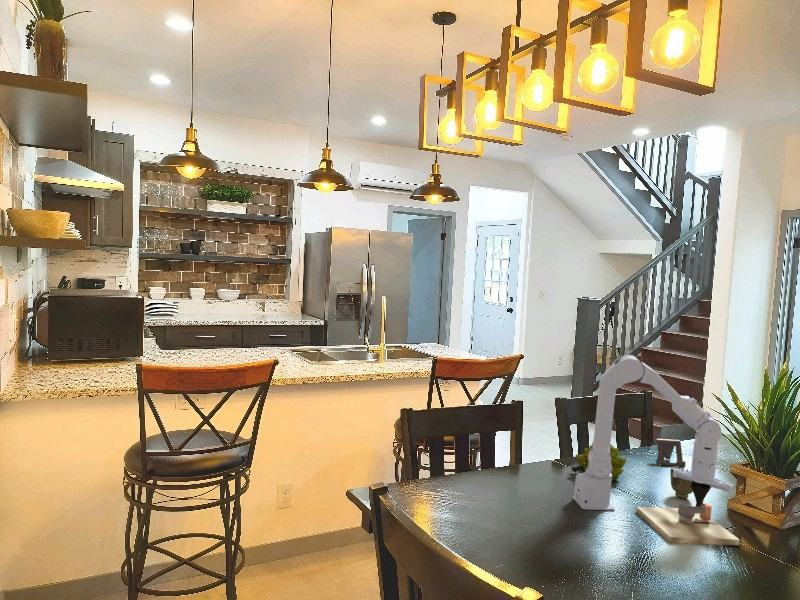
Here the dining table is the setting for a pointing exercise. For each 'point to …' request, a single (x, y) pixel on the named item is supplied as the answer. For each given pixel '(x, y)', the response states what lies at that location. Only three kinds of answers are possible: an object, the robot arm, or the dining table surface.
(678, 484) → the cup
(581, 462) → the vegetable
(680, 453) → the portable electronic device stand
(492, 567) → the dining table surface
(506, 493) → the dining table surface
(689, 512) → the lock lever
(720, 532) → the base
